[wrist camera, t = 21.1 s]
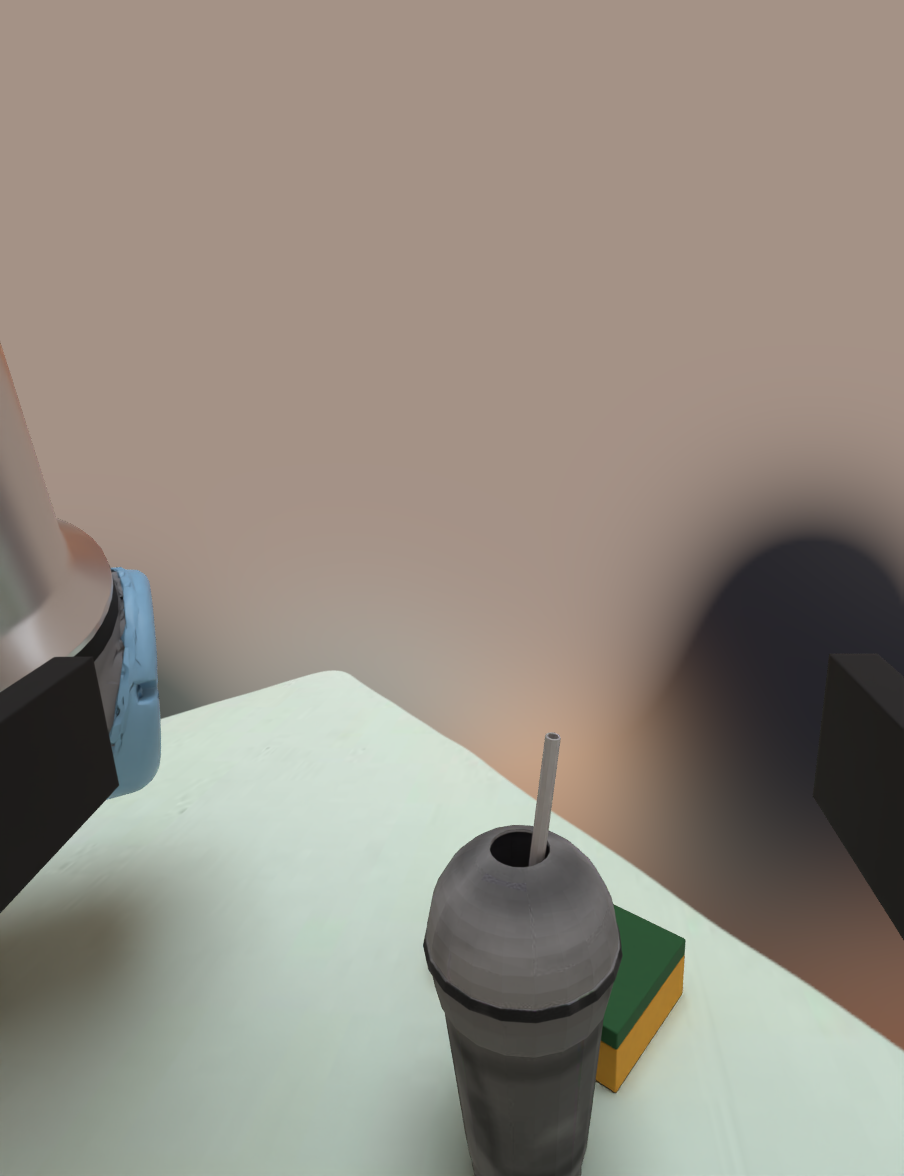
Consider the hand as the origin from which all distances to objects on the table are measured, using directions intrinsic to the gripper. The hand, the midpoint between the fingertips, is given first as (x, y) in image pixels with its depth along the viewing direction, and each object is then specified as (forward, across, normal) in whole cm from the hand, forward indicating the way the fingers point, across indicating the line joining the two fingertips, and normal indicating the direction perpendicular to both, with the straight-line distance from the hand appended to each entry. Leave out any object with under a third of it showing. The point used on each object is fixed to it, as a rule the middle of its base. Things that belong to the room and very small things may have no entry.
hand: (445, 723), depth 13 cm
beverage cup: (+10, +1, -26) cm, 28 cm away
